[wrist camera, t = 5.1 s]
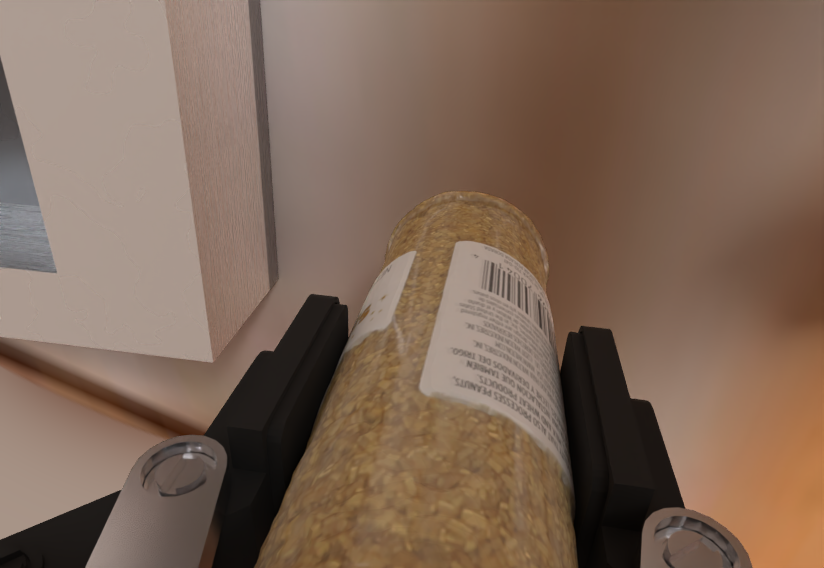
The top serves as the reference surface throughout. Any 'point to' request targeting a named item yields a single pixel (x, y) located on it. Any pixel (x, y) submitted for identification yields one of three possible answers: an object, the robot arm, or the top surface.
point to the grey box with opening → (134, 174)
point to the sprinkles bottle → (441, 410)
